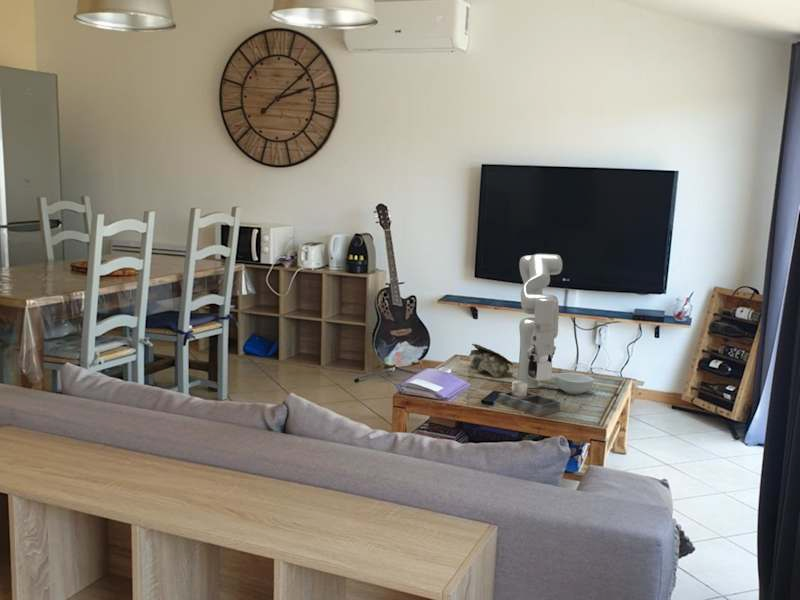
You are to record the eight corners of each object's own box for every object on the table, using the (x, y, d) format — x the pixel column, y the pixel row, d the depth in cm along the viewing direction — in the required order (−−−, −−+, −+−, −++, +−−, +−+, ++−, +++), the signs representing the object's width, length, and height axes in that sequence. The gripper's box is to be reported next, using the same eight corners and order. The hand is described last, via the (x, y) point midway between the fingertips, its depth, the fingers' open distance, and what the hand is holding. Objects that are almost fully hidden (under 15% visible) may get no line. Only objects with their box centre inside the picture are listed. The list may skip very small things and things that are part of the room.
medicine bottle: (527, 376, 333) (529, 348, 331) (542, 375, 335) (544, 347, 333) (535, 380, 326) (537, 351, 324) (551, 379, 329) (553, 351, 327)
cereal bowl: (592, 398, 352) (593, 383, 351) (554, 395, 355) (555, 379, 354) (591, 388, 368) (592, 373, 367) (554, 385, 372) (555, 370, 371)
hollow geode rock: (472, 373, 406) (454, 354, 400) (488, 355, 409) (471, 335, 403) (501, 386, 381) (483, 365, 375) (518, 367, 383) (500, 346, 378)
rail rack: (498, 402, 341) (499, 382, 339) (519, 397, 349) (520, 377, 348) (539, 416, 324) (540, 394, 322) (560, 410, 332) (561, 389, 331)
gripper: (536, 331, 319) (533, 373, 322) (563, 327, 330) (561, 368, 333) (521, 328, 324) (519, 369, 327) (549, 324, 335) (546, 364, 338)
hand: (540, 368), depth 330 cm, fingers closed on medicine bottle, 9 cm apart
